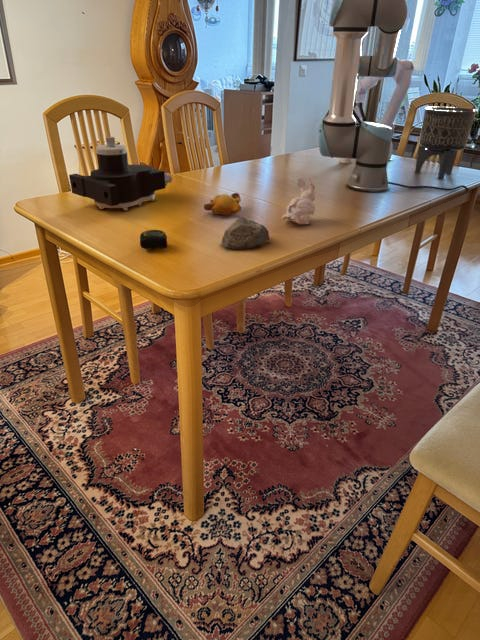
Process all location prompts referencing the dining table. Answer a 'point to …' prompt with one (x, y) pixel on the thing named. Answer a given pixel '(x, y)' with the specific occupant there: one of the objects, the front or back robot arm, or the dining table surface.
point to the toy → (224, 204)
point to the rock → (245, 234)
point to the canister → (345, 160)
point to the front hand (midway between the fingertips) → (342, 140)
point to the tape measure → (153, 239)
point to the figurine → (301, 204)
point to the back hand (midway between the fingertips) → (352, 136)
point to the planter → (444, 136)
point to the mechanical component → (118, 179)
